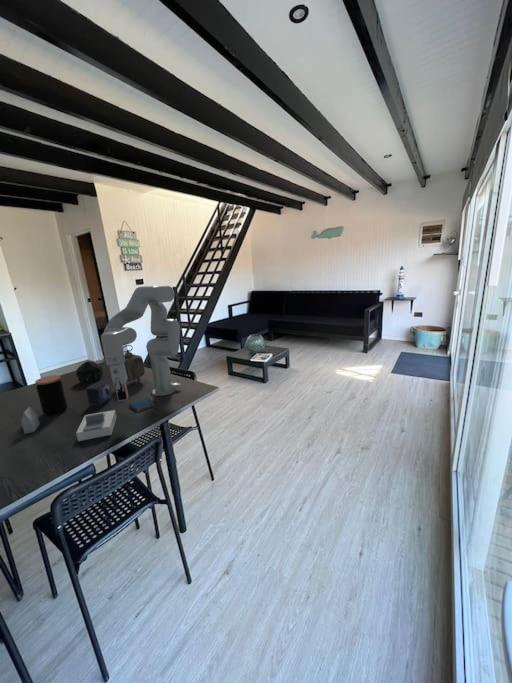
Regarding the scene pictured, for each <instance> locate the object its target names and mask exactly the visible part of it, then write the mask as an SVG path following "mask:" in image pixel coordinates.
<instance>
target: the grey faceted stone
mask: <svg viewBox="0 0 512 683" xmlns="http://www.w3.org/2000/svg"><path fill="white" fill-rule="evenodd" d="M40 425H41V424H40V420H39V417H38V414H37V412H36V411H35V409H33V408H32V407H31V406H28V407H27V408H26V409H25V410H24V411H23V413H22V418H21V426H22V429H23V430H22V431H23V433H24V434H25V435H26V434H30V433H34V432H36V430H37V429H38V428H39V426H40Z"/></svg>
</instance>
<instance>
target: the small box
mask: <svg viewBox="0 0 512 683" xmlns="http://www.w3.org/2000/svg"><path fill="white" fill-rule="evenodd" d="M85 389H86V394H87V399H88V404H89V407H94V408H95V407H98V408H100V407H101V406H103V405H105V404H106V403H107V402H108V401H111V400H112V399H113V396H112V391H111V385H110V381H107V380H98V381H96V382H94V383H92V384H91V385H89V386H87V387H86V388H85Z"/></svg>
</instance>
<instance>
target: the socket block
mask: <svg viewBox="0 0 512 683" xmlns="http://www.w3.org/2000/svg"><path fill="white" fill-rule="evenodd" d="M98 413H99V412H97V413H89V414H85V415H84V416H83V419H82V421H81V423H79V424H80V425H79V426H78V428H77V431H76V433H75V434H76V438H77V442H82V441H85V440H86V441H87V440H92V439H96V438H101V437H106V436H112V435H113V431H114V428H115V424H116V420H117V412H116V410H115V409H112V410H107V411H102V412H100V413H103V414H104V419H105V421H104V424H103V427H102V428H101V429H96V430H90V431H85V432H84V431H83V430H84V427H85V425H86V418H85V416H87V415H93V414H98Z"/></svg>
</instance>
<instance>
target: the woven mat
mask: <svg viewBox="0 0 512 683" xmlns="http://www.w3.org/2000/svg"><path fill="white" fill-rule="evenodd" d="M154 406H156V403H155V402H154V401H153V400H150V399H149V398H147V397H146V398H143V399H140V400H137V401H134V402H132V403H129V404H128V407H129V408H131V409H132V410H133V411H134V412H136V413H139V412H141V411H144V410H148V409H149V408H152V407H154Z"/></svg>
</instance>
